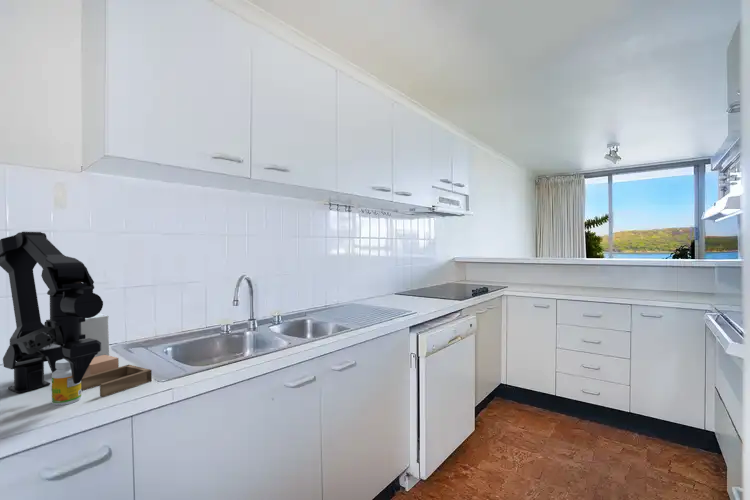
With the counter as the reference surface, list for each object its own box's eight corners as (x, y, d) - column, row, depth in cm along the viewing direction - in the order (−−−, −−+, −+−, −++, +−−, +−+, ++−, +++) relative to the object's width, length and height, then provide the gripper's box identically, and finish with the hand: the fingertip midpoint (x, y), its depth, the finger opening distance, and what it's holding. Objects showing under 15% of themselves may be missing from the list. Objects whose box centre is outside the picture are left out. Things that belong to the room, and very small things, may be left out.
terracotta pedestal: (76, 379, 102) (76, 361, 102) (104, 371, 108) (104, 354, 108) (90, 383, 99) (90, 365, 99) (118, 375, 105) (118, 357, 105)
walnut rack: (80, 389, 95) (79, 378, 95) (128, 375, 105) (128, 364, 105) (102, 397, 90) (102, 384, 90) (151, 380, 101) (151, 369, 101)
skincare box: (104, 361, 118) (103, 312, 118) (110, 365, 114) (110, 315, 113) (70, 368, 111) (69, 316, 111) (76, 373, 107) (75, 319, 107)
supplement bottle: (46, 403, 86) (45, 362, 86) (72, 395, 91) (71, 355, 91) (60, 407, 84) (60, 365, 84) (86, 398, 89) (86, 358, 89)
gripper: (2, 317, 85) (3, 384, 85) (42, 324, 76) (43, 400, 76) (61, 309, 95) (62, 370, 95) (102, 315, 86) (103, 382, 86)
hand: (66, 380), depth 88 cm, fingers open, 9 cm apart
